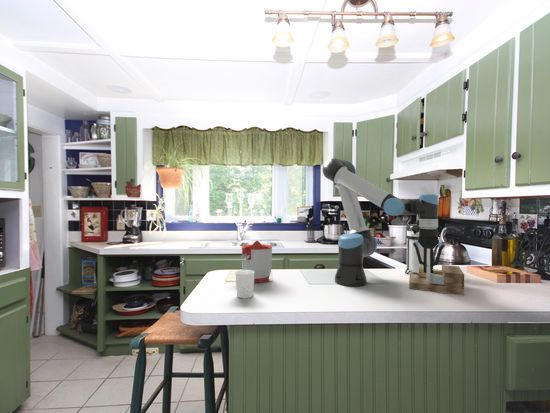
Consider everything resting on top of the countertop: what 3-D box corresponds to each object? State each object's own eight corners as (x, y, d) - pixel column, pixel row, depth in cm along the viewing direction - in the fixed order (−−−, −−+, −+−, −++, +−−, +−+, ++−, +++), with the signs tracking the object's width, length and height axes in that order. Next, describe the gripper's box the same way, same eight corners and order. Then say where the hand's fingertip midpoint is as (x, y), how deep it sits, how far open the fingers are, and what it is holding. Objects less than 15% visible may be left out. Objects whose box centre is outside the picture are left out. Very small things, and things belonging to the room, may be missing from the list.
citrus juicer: (232, 281, 138) (232, 240, 138) (256, 274, 151) (256, 237, 151) (254, 287, 128) (254, 244, 128) (278, 279, 141) (278, 240, 141)
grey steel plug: (430, 283, 124) (430, 275, 124) (429, 281, 128) (429, 272, 128) (459, 287, 119) (459, 278, 119) (458, 284, 123) (458, 275, 123)
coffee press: (441, 277, 147) (442, 220, 147) (411, 277, 147) (411, 220, 147) (424, 269, 164) (425, 218, 164) (397, 269, 164) (397, 218, 164)
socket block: (409, 288, 127) (409, 268, 127) (409, 279, 142) (409, 262, 142) (464, 295, 118) (464, 274, 118) (458, 284, 133) (458, 266, 133)
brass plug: (418, 276, 136) (418, 268, 136) (418, 274, 140) (418, 267, 140) (445, 279, 131) (445, 271, 131) (444, 277, 135) (444, 269, 135)
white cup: (239, 300, 111) (239, 275, 111) (232, 294, 118) (233, 270, 118) (257, 297, 115) (257, 272, 115) (250, 291, 122) (250, 268, 122)
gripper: (412, 228, 126) (412, 280, 126) (445, 229, 120) (445, 284, 120) (412, 227, 132) (412, 276, 133) (444, 228, 127) (444, 279, 127)
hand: (428, 280), depth 126 cm, fingers closed
